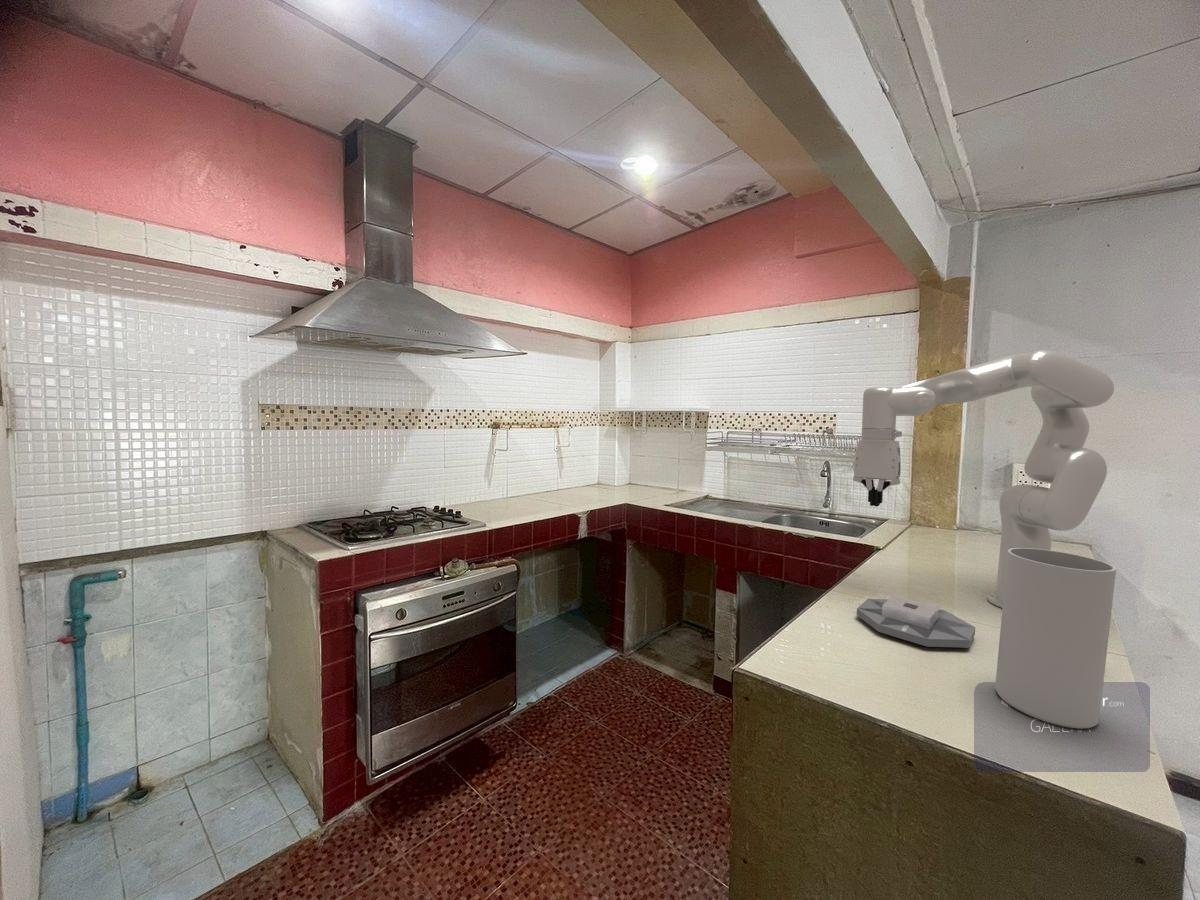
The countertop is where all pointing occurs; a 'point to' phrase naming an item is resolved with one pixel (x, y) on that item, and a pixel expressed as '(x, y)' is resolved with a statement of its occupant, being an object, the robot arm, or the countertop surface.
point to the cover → (910, 612)
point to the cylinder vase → (1055, 635)
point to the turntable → (941, 633)
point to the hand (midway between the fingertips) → (874, 505)
